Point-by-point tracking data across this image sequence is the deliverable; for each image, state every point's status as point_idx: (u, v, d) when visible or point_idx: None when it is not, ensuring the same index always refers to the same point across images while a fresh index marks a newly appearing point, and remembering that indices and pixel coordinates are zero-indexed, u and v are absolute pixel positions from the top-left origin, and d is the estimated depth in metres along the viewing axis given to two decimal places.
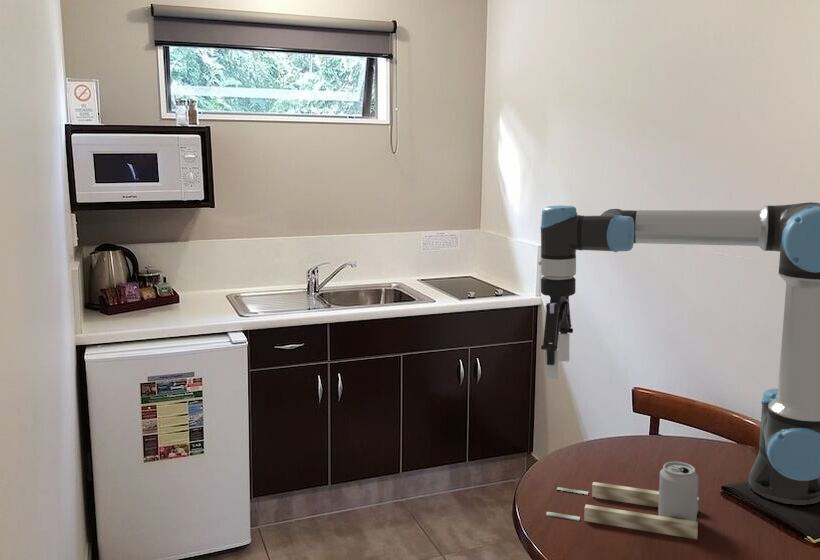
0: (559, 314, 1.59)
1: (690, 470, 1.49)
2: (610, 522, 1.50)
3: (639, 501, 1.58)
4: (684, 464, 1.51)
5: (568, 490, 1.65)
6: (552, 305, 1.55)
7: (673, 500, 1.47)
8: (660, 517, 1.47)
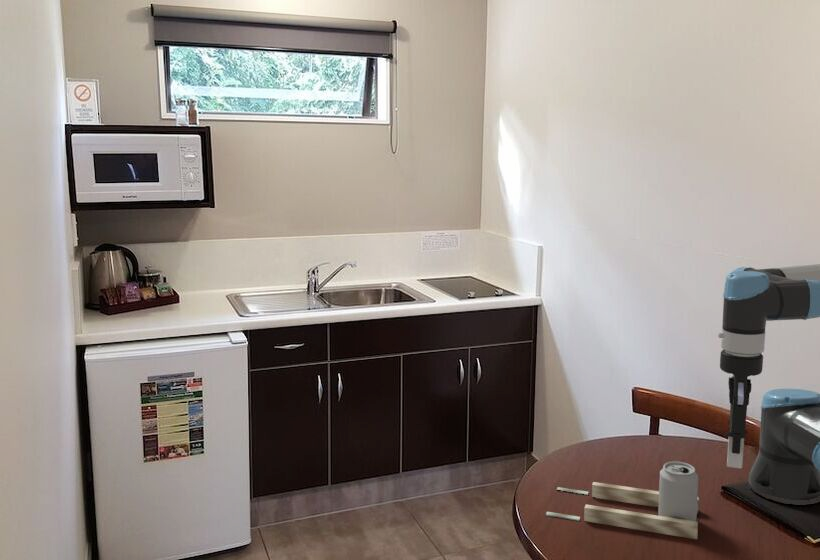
0: None
1: (690, 470, 1.49)
2: (610, 522, 1.50)
3: (639, 501, 1.58)
4: (684, 464, 1.51)
5: (568, 490, 1.65)
6: (740, 399, 1.36)
7: (673, 500, 1.47)
8: (660, 517, 1.47)
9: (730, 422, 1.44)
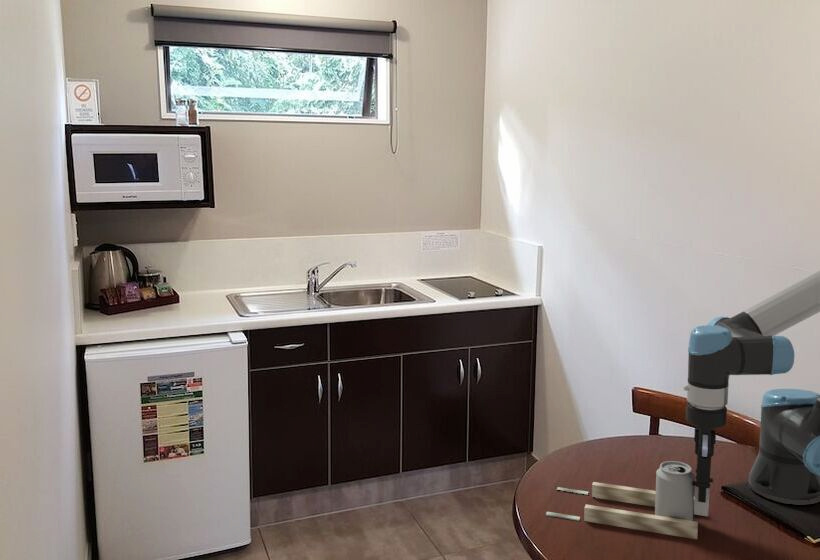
0: None
1: (687, 469, 1.49)
2: (610, 522, 1.50)
3: (639, 501, 1.58)
4: (681, 463, 1.51)
5: (568, 490, 1.65)
6: (705, 452, 1.40)
7: (669, 499, 1.47)
8: (660, 517, 1.47)
9: None
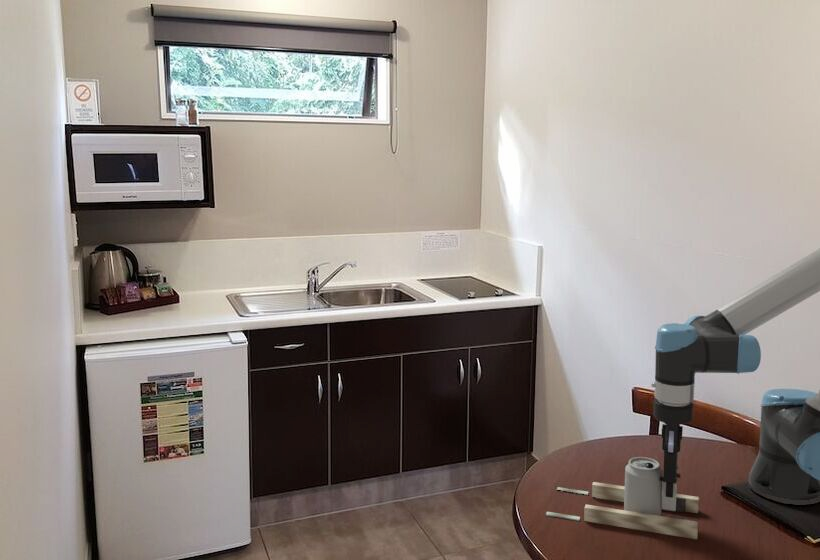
0: None
1: (655, 465, 1.51)
2: (610, 522, 1.50)
3: None
4: (649, 459, 1.54)
5: (568, 490, 1.65)
6: (670, 448, 1.43)
7: (637, 495, 1.50)
8: (660, 517, 1.47)
9: None
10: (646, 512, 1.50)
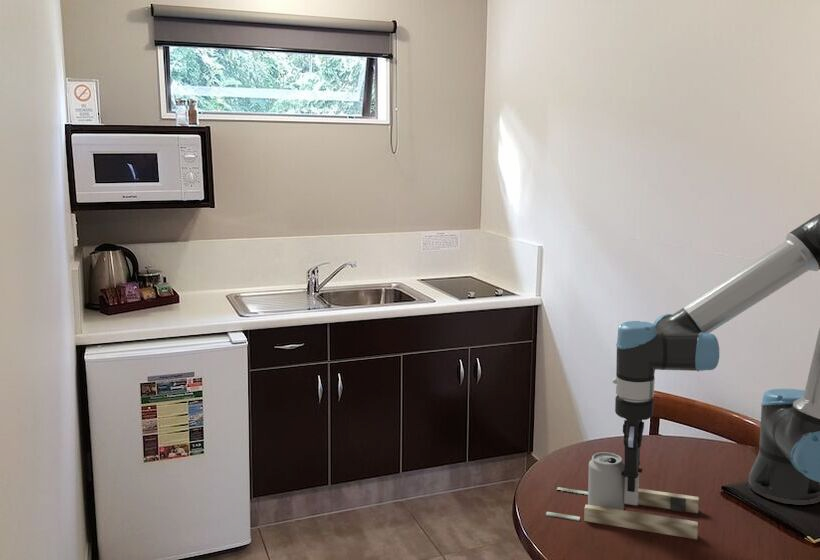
0: None
1: (617, 460, 1.54)
2: (610, 522, 1.50)
3: (639, 501, 1.58)
4: (613, 455, 1.56)
5: (568, 490, 1.65)
6: (630, 443, 1.45)
7: (600, 489, 1.53)
8: (660, 517, 1.47)
9: None
10: (608, 506, 1.53)
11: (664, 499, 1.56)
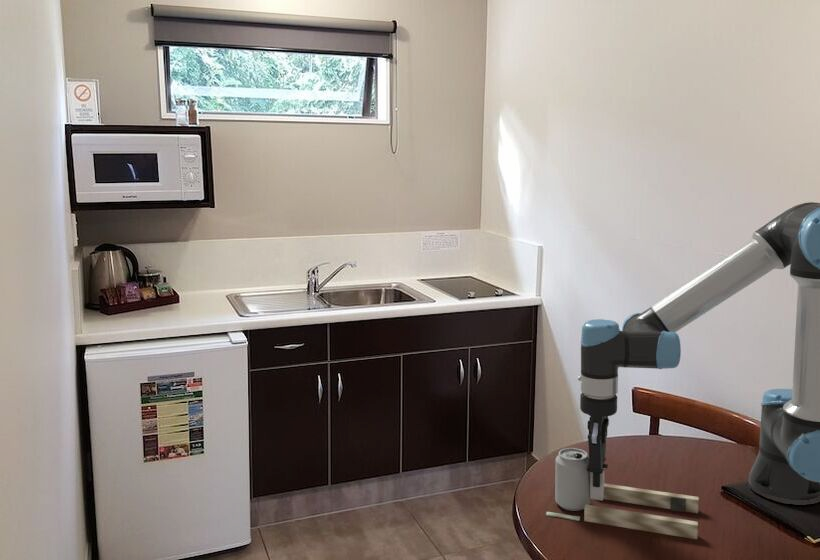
0: (601, 434, 1.52)
1: (583, 456, 1.57)
2: (610, 522, 1.50)
3: (639, 501, 1.58)
4: (579, 450, 1.59)
5: None
6: (594, 439, 1.48)
7: (566, 484, 1.55)
8: (660, 517, 1.47)
9: None
10: (574, 501, 1.55)
11: (664, 499, 1.56)
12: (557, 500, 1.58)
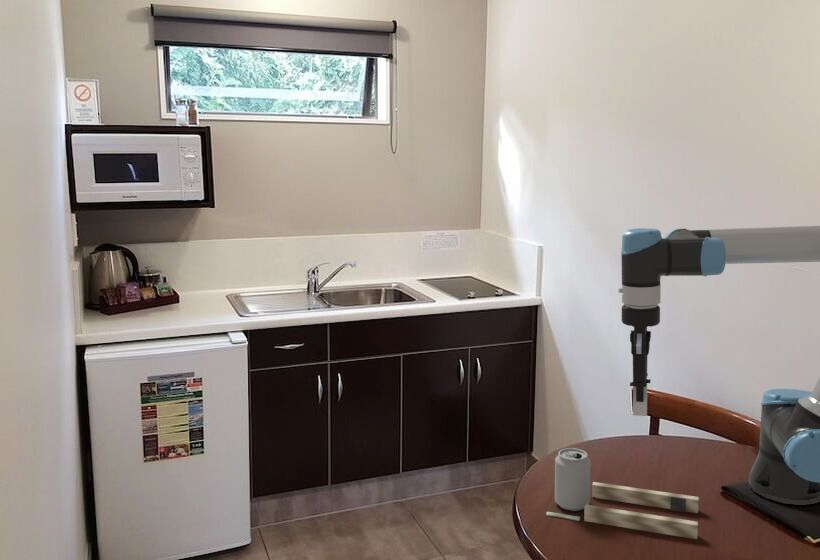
0: None
1: (583, 456, 1.57)
2: (610, 522, 1.50)
3: (639, 501, 1.58)
4: (579, 450, 1.59)
5: None
6: (638, 349, 1.44)
7: (565, 484, 1.55)
8: (660, 517, 1.47)
9: None
10: (574, 501, 1.55)
11: (664, 499, 1.56)
12: (557, 500, 1.58)
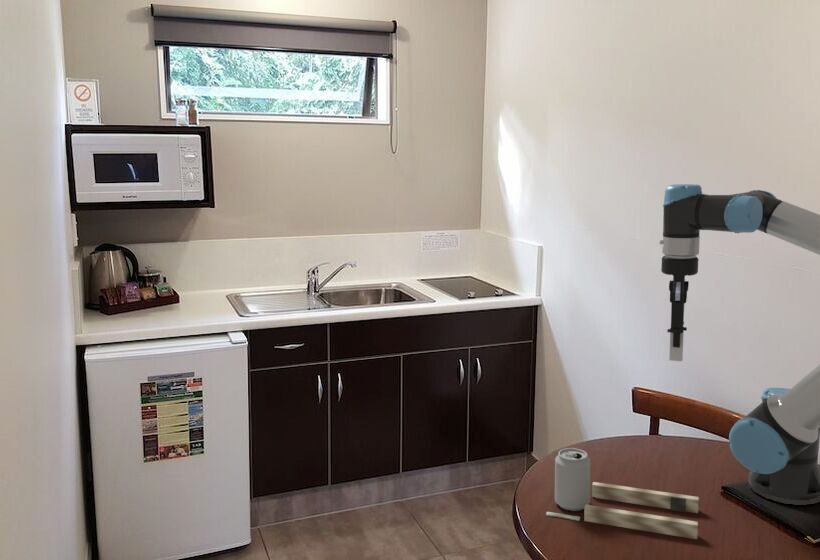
0: None
1: (583, 456, 1.57)
2: (610, 522, 1.50)
3: (639, 501, 1.58)
4: (579, 450, 1.59)
5: None
6: (677, 295, 1.54)
7: (565, 484, 1.55)
8: (660, 517, 1.47)
9: None
10: (574, 501, 1.55)
11: (664, 499, 1.56)
12: (557, 500, 1.58)
